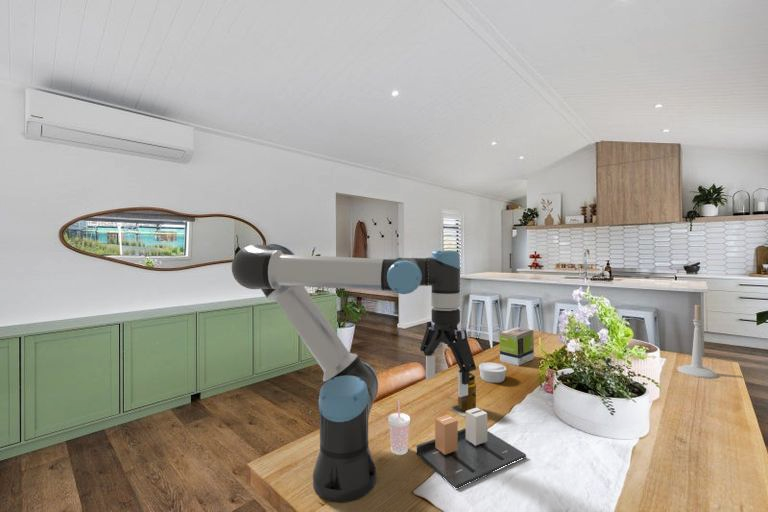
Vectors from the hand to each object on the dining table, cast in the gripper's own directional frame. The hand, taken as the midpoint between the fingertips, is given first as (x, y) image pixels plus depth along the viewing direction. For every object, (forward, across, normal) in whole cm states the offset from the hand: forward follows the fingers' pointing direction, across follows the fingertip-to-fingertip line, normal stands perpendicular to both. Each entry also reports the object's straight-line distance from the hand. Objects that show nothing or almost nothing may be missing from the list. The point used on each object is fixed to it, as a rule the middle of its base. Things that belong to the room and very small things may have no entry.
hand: (445, 386), depth 95 cm
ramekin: (+19, +32, -51) cm, 63 cm away
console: (+18, -4, -5) cm, 20 cm away
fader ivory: (+17, -1, -10) cm, 20 cm away
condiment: (+19, +17, -22) cm, 34 cm away
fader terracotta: (+17, 0, 0) cm, 17 cm away
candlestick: (+18, -8, -132) cm, 134 cm away
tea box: (+19, +43, -79) cm, 92 cm away
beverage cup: (+19, +8, +10) cm, 23 cm away
